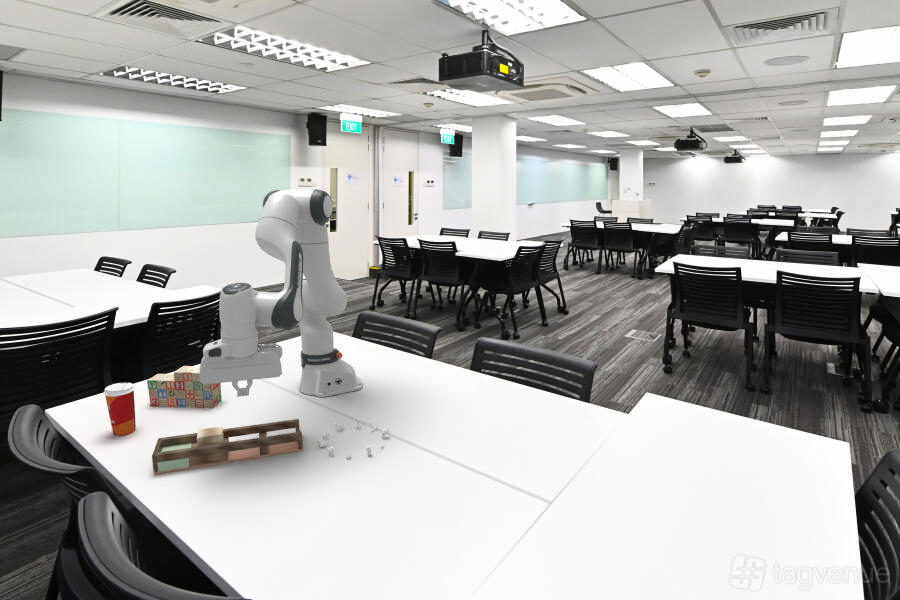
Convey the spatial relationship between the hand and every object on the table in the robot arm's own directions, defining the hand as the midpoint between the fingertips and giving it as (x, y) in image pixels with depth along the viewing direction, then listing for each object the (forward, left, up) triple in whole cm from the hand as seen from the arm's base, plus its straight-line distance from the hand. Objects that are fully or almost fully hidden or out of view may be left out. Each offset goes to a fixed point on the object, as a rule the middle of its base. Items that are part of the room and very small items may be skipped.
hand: (243, 395), depth 137 cm
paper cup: (+34, -24, -16) cm, 45 cm away
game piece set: (-28, +5, -17) cm, 33 cm away
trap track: (+4, 0, -16) cm, 17 cm away
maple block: (+9, 0, -13) cm, 16 cm away
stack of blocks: (+19, -41, -17) cm, 48 cm away
